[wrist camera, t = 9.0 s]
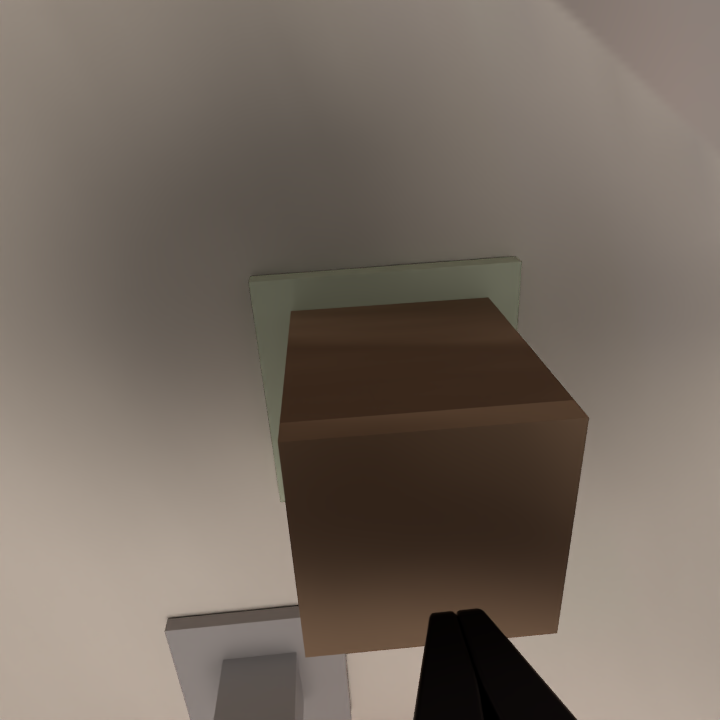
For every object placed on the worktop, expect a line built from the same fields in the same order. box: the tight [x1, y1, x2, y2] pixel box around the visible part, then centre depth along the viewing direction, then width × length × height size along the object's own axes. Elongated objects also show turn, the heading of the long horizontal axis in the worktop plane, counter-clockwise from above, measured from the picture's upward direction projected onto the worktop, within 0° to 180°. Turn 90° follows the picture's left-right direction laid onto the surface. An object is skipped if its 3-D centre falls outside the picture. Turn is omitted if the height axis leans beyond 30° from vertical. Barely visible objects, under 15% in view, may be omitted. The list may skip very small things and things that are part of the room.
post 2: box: [249, 256, 522, 502], centre depth 14 cm, size 7×7×6 cm
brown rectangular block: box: [278, 297, 589, 658], centre depth 13 cm, size 5×5×6 cm
